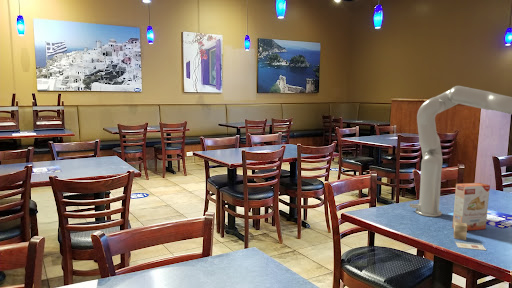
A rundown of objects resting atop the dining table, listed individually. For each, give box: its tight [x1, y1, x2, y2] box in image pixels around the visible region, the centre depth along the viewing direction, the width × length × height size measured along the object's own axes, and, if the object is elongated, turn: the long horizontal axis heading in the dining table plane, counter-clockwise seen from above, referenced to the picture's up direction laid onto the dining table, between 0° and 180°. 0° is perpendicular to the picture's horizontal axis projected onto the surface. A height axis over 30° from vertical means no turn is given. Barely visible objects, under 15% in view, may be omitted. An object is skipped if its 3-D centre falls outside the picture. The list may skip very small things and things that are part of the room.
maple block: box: [453, 222, 468, 241], centre depth 165 cm, size 4×4×6 cm
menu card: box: [454, 240, 487, 251], centre depth 156 cm, size 10×7×1 cm
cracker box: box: [451, 182, 491, 231], centre depth 176 cm, size 14×6×21 cm, turn 105°
